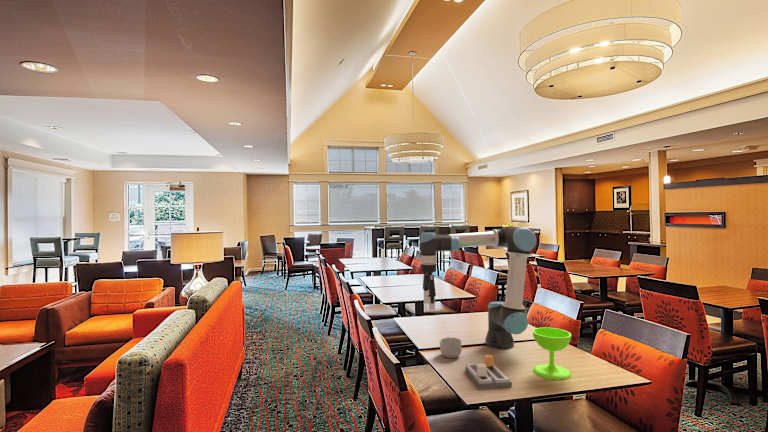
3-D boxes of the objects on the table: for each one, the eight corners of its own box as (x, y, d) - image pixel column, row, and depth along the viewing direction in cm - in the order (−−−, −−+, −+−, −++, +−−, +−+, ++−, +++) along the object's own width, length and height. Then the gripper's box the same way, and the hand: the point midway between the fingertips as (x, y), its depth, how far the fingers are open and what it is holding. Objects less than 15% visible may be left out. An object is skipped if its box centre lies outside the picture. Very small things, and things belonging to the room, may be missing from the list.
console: (495, 369, 179) (495, 362, 179) (511, 386, 161) (511, 379, 161) (465, 371, 177) (465, 364, 177) (478, 388, 159) (478, 380, 159)
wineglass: (527, 365, 183) (527, 327, 183) (562, 365, 183) (562, 327, 183) (540, 380, 167) (540, 338, 167) (578, 380, 167) (578, 338, 167)
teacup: (461, 360, 190) (461, 344, 190) (439, 359, 192) (438, 343, 192) (461, 351, 204) (461, 335, 204) (440, 349, 206) (440, 334, 206)
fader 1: (484, 376, 166) (484, 363, 166) (486, 378, 163) (486, 366, 163) (476, 376, 166) (476, 363, 166) (479, 379, 163) (479, 366, 163)
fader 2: (491, 366, 177) (491, 354, 177) (493, 368, 174) (493, 356, 174) (484, 366, 177) (484, 354, 177) (486, 369, 174) (486, 357, 174)
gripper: (416, 261, 205) (417, 301, 205) (425, 267, 180) (426, 313, 180) (430, 260, 206) (431, 300, 206) (441, 266, 181) (442, 312, 181)
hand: (429, 306), depth 193 cm, fingers open, 13 cm apart
